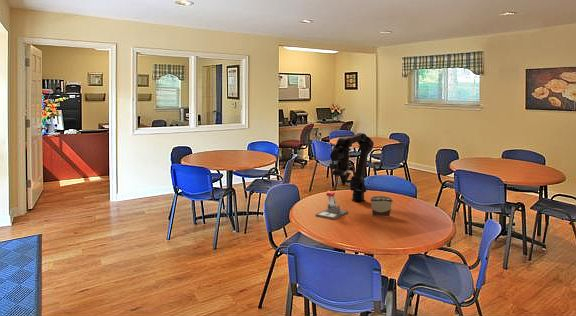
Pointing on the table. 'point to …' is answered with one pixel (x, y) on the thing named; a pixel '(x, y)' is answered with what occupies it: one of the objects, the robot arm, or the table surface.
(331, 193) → the lever
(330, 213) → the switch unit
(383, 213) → the food container
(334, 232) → the table surface
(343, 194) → the table surface
